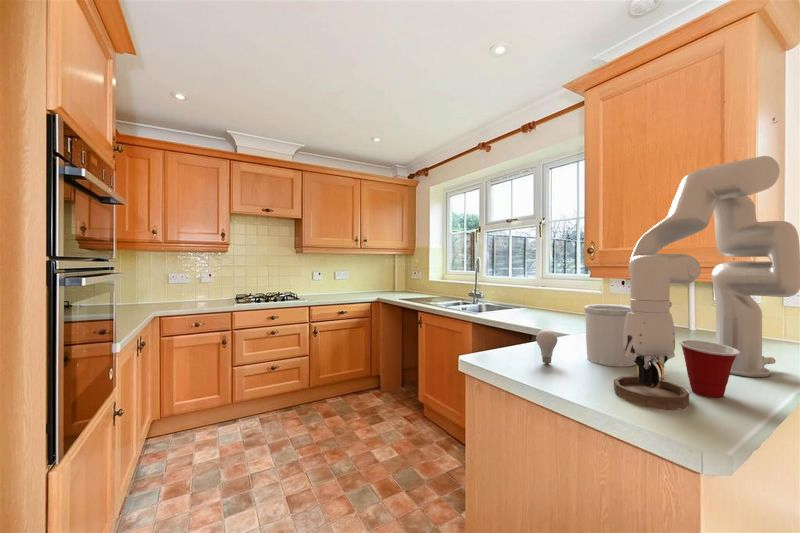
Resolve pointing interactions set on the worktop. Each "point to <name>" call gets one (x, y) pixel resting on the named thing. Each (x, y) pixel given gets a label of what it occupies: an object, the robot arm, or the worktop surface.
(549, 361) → the lightbulb
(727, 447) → the worktop surface
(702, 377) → the plastic cup
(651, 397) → the ring dish
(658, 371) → the gold round band
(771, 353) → the worktop surface
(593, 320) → the utensil holder
